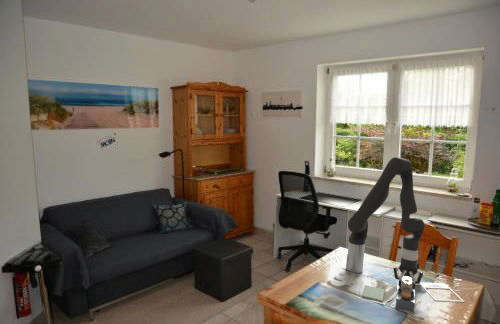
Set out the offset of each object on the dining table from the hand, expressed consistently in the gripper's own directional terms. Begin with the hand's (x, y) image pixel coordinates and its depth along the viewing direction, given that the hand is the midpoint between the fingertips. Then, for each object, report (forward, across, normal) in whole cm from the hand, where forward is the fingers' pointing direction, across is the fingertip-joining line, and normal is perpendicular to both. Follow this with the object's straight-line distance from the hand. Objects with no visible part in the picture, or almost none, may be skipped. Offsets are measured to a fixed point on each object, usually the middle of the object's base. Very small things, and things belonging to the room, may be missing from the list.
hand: (406, 288), depth 175 cm
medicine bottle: (+6, +3, +21) cm, 22 cm away
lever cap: (0, 0, 0) cm, 0 cm away
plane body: (+5, 0, -1) cm, 5 cm away
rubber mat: (+5, -15, -3) cm, 16 cm away
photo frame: (+6, +17, +16) cm, 24 cm away
